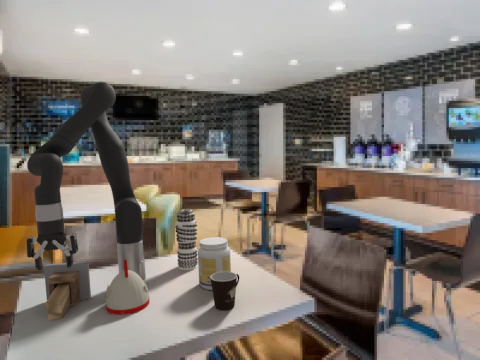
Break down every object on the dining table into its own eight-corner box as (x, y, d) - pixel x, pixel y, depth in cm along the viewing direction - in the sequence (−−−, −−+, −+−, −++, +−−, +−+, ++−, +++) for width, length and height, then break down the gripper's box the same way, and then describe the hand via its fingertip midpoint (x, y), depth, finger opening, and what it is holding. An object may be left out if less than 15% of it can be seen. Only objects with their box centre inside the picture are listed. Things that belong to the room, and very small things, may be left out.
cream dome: (147, 293, 128) (145, 252, 127) (151, 309, 115) (149, 264, 114) (105, 300, 123) (102, 258, 122) (105, 318, 110) (102, 271, 109)
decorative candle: (202, 264, 157) (200, 208, 155) (192, 271, 149) (189, 212, 146) (184, 262, 161) (181, 207, 158) (173, 269, 152) (170, 211, 149)
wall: (91, 297, 126) (88, 261, 125) (89, 298, 125) (87, 262, 123) (48, 300, 124) (45, 264, 123) (47, 302, 123) (43, 265, 121)
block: (80, 299, 124) (78, 270, 123) (76, 305, 119) (74, 276, 118) (56, 301, 123) (53, 272, 122) (50, 308, 118) (48, 278, 117)
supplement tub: (223, 276, 143) (222, 234, 141) (236, 287, 132) (235, 242, 130) (194, 282, 137) (192, 239, 136) (205, 293, 126) (203, 247, 125)
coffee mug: (218, 314, 111) (216, 283, 110) (207, 303, 118) (206, 274, 117) (250, 305, 116) (250, 276, 115) (238, 296, 124) (237, 268, 123)
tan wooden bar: (73, 297, 122) (71, 281, 121) (62, 318, 111) (59, 301, 109) (60, 298, 122) (58, 282, 120) (48, 319, 110) (45, 302, 109)
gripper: (77, 213, 116) (81, 262, 118) (30, 216, 114) (35, 266, 115) (70, 218, 109) (75, 270, 110) (19, 222, 106) (25, 274, 108)
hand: (54, 268), depth 113 cm, fingers open, 8 cm apart
